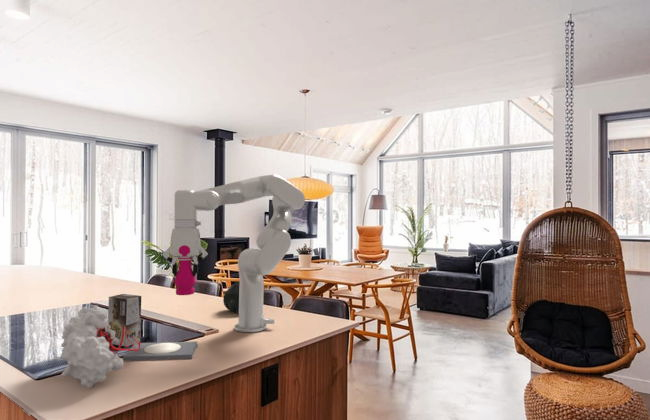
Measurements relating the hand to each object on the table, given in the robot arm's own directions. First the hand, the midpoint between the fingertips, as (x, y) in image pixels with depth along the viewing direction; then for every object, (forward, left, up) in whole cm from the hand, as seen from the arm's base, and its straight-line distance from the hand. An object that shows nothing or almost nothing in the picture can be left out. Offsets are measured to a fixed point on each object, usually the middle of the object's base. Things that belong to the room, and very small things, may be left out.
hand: (185, 274), depth 151 cm
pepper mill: (0, 0, -7) cm, 7 cm away
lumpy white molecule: (+19, +31, -23) cm, 43 cm away
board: (+4, +13, -23) cm, 27 cm away
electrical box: (+19, +1, -23) cm, 30 cm away
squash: (-19, -45, -23) cm, 54 cm away
